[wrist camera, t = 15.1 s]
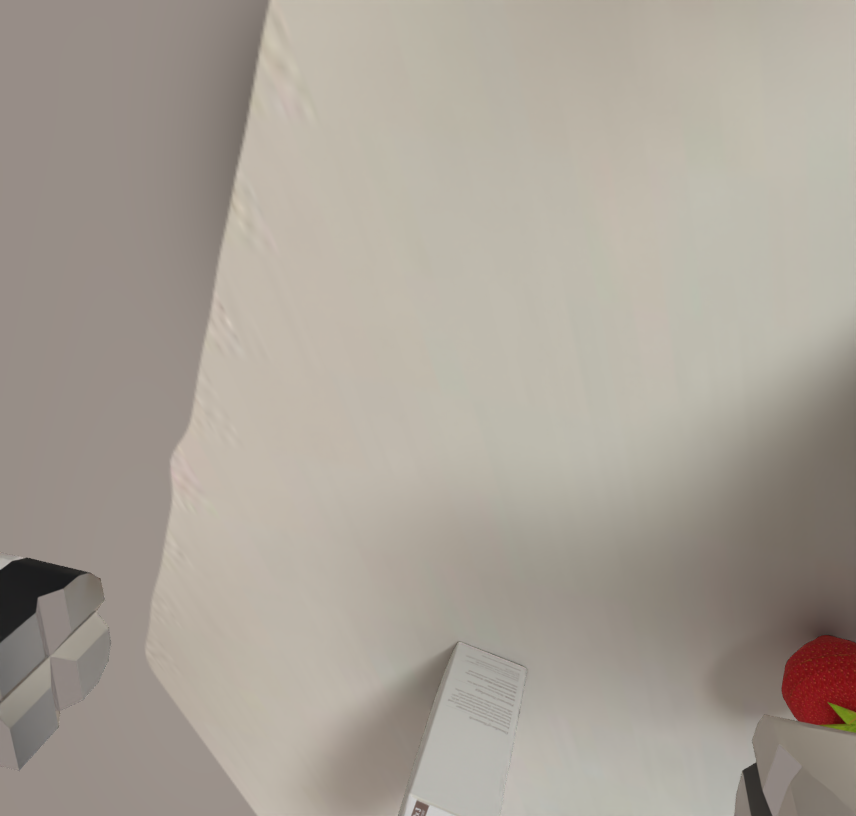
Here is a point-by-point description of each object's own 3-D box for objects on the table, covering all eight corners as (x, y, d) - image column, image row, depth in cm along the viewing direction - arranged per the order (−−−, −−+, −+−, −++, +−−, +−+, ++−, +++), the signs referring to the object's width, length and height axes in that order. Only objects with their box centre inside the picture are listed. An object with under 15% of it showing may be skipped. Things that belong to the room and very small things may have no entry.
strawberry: (776, 590, 48) (814, 702, 39) (901, 612, 46) (971, 733, 37) (756, 660, 50) (787, 781, 41) (874, 683, 48) (934, 813, 39)
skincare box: (498, 736, 58) (464, 924, 45) (428, 709, 59) (373, 886, 45) (529, 661, 55) (503, 840, 41) (454, 633, 55) (404, 801, 42)
